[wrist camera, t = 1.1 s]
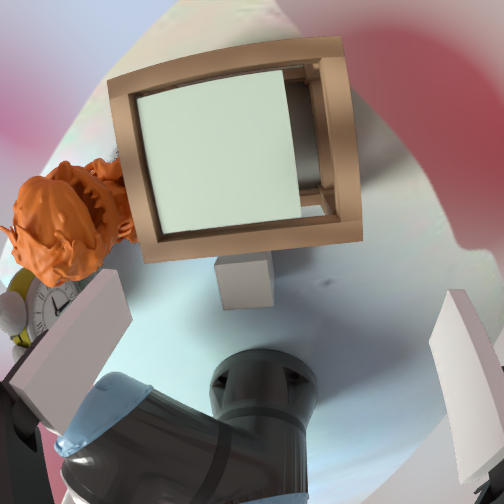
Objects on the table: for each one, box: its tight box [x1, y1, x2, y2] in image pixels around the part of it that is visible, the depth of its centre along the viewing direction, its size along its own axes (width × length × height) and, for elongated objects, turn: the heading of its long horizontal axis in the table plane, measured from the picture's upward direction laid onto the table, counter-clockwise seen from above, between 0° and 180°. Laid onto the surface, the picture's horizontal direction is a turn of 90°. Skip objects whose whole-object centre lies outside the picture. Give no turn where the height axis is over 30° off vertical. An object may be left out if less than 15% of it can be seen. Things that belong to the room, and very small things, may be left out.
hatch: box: [135, 70, 302, 235], centre depth 21 cm, size 10×10×1 cm
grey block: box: [214, 251, 275, 310], centre depth 34 cm, size 5×5×6 cm
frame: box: [107, 36, 363, 264], centre depth 26 cm, size 14×16×12 cm
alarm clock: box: [0, 268, 81, 364], centre depth 34 cm, size 12×7×15 cm, turn 3°
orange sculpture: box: [0, 157, 139, 288], centre depth 27 cm, size 11×11×18 cm
